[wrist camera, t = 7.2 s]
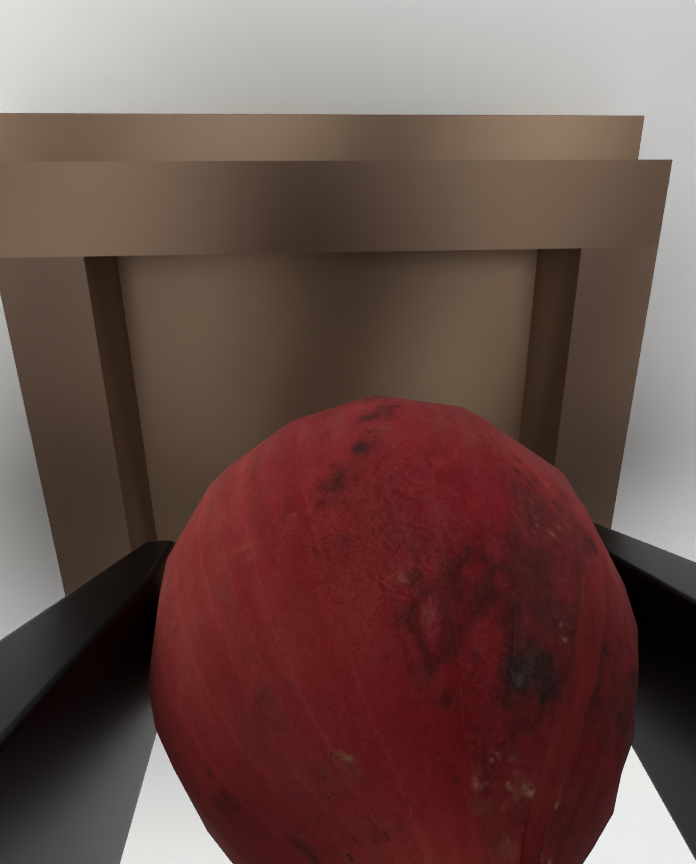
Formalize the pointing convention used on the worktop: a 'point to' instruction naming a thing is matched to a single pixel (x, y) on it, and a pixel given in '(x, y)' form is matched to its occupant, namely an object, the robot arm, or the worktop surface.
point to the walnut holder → (312, 293)
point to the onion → (395, 648)
